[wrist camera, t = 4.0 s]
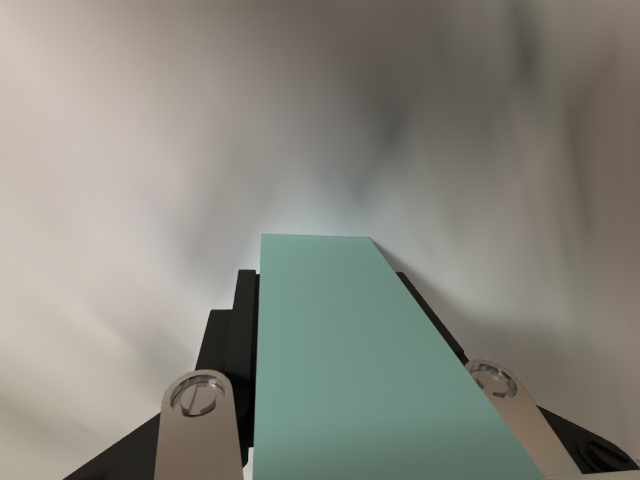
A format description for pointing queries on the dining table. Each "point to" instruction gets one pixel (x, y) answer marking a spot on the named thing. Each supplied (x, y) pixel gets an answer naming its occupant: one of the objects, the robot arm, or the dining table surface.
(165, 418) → the robot arm
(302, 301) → the teal toy mallet
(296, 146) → the dining table surface
